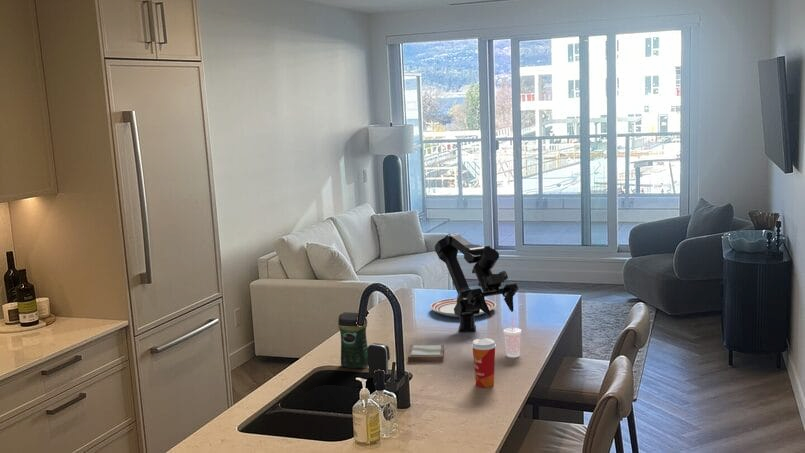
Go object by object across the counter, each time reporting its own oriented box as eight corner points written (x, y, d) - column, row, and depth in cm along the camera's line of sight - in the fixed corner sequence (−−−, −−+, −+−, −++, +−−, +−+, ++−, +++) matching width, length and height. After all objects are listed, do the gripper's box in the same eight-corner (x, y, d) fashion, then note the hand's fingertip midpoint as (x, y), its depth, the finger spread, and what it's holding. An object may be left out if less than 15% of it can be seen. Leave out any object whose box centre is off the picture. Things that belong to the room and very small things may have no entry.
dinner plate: (433, 303, 342) (433, 295, 341) (496, 302, 338) (496, 295, 337) (427, 321, 315) (426, 313, 314) (495, 321, 311) (495, 313, 311)
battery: (392, 376, 256) (390, 343, 254) (386, 380, 252) (385, 347, 250) (373, 374, 259) (371, 341, 257) (368, 378, 255) (366, 344, 253)
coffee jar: (372, 362, 270) (369, 310, 267) (363, 370, 263) (360, 317, 260) (347, 360, 274) (344, 308, 270) (337, 368, 266) (334, 315, 263)
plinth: (410, 350, 280) (410, 344, 280) (444, 350, 279) (444, 344, 279) (408, 362, 268) (407, 356, 268) (443, 361, 267) (442, 355, 267)
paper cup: (470, 380, 249) (469, 338, 246) (494, 379, 249) (493, 337, 247) (475, 390, 241) (473, 346, 239) (499, 388, 242) (498, 344, 239)
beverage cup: (503, 352, 274) (502, 313, 272) (520, 351, 274) (519, 313, 271) (505, 358, 268) (504, 319, 265) (522, 357, 268) (522, 318, 265)
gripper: (469, 267, 274) (485, 305, 266) (515, 260, 281) (532, 297, 273) (459, 284, 282) (475, 321, 274) (504, 277, 289) (521, 313, 281)
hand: (501, 313), depth 275 cm, fingers open, 9 cm apart
